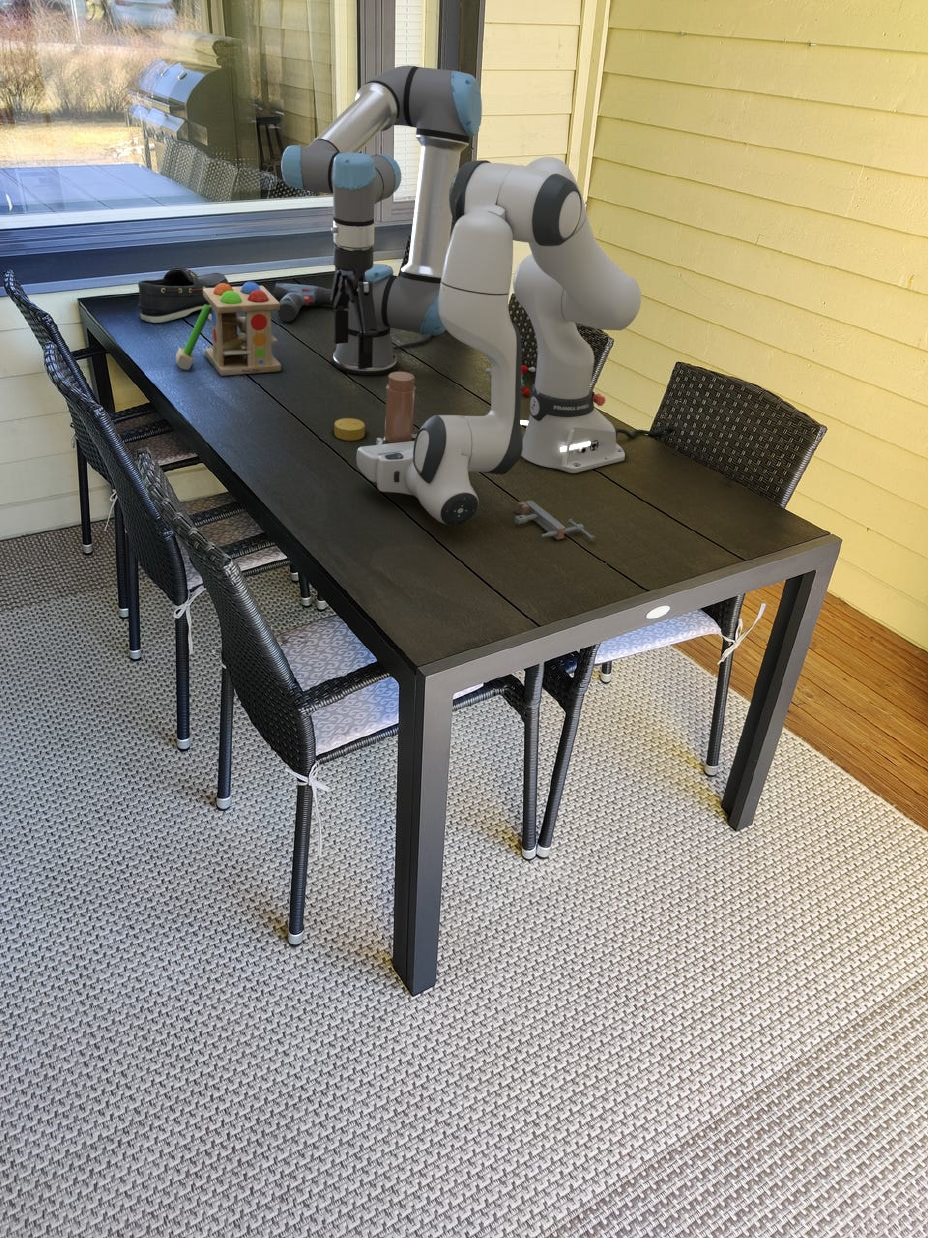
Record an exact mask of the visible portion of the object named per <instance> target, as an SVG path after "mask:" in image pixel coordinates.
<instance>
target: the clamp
mask: <svg viewBox="0 0 928 1238" xmlns="http://www.w3.org/2000/svg"><path fill="white" fill-rule="evenodd" d="M516 513H517V514H520V515H514V523H515V524H516V525H523V524H526V523H528V522H529V521H534V522H535V523H537V525H539V526H540V527H541V528H543V530H544V531H546V533H543V534H540V537H541V538H547V537H548V538H550V537H553V538H554V539H556V540H562V539H564V538H565V534H568V533H572V532H575V533H578V532H581V533H582V534H584V535H585V536H587V537H588V538H589V540H590V541H591V542H593V541H595V539H596V536H595V535H591V533H589V532H587V530H585V526H584V524H582V523H578V524H577V523H576V522H574V520H573V519H572V518H569V519H568V520H567V523H568V524H570V525H572V526H570V527H565V525H564V524H562V523H561V522H559V521H558V520H557V519H556V518H554V517H553V516H552V515H551V514H550V513H549V512H548V511H546V510H545V509H543V508H542V507H541V506H540V505H539V504H537V503H536V502H535V501H534V500H527V501H519V502H518V503H517V510H516Z"/></svg>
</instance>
